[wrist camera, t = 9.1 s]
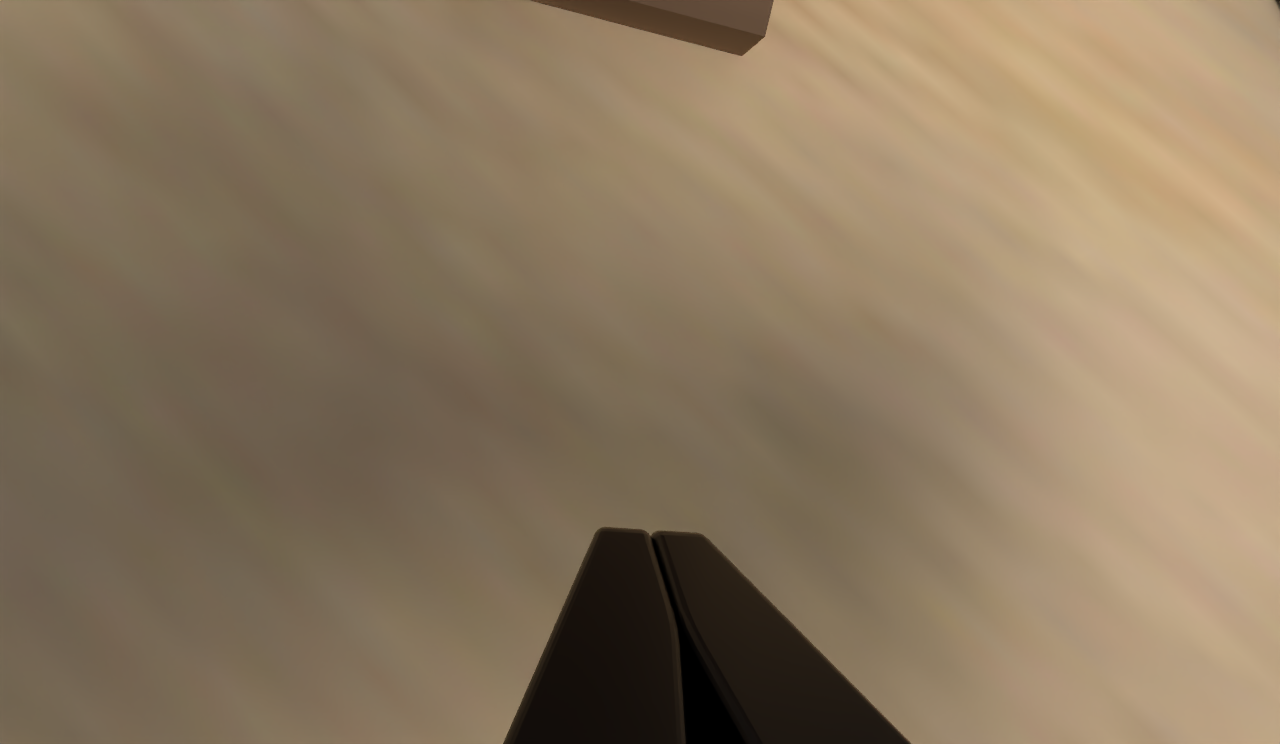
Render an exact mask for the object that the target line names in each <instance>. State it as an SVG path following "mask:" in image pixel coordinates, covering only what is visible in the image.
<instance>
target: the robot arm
mask: <svg viewBox="0 0 1280 744" xmlns="http://www.w3.org/2000/svg"><path fill="white" fill-rule="evenodd" d="M503 744H911V743H910V742H909V741H908V740H907V739H906V738H905V737H904V736H903V735H902V734H901V733H900V732H899V731H898V730H897V729H896V728H895V727H894V726H893V725H892V724H891V723H890V722H889V721H888V720H887V719H886V718H885V717H884V716H883V715H882V714H881V713H880V712H879V711H878V710H877V709H876V708H875V707H874V706H873V705H872V704H871V703H870V701H869V700H868V699H867V698H866V697H865V696H864V695H863V694H862V693H861V692H860V691H859V690H858V689H857V688H856V687H855V686H854V685H853V684H852V683H851V682H850V681H849V680H848V679H847V678H846V677H845V676H844V675H843V674H842V673H841V672H840V671H839V670H838V669H837V668H836V667H835V666H834V665H833V664H832V663H831V662H830V661H829V660H828V659H827V658H826V657H825V656H824V655H823V654H822V653H821V652H820V651H819V650H818V649H817V648H816V647H815V646H814V645H813V644H812V643H811V642H810V641H809V640H808V639H807V638H806V637H805V636H804V635H803V634H802V633H801V632H800V631H799V630H798V629H797V628H796V627H795V626H794V625H793V624H792V623H791V622H790V621H789V620H788V619H787V618H786V617H785V616H784V615H783V614H782V613H781V612H780V611H779V610H778V609H777V608H776V607H775V606H774V605H773V604H772V603H771V602H770V601H769V600H768V599H767V598H766V597H765V596H764V595H763V594H762V593H761V592H760V591H759V590H758V589H757V588H756V587H755V586H754V585H753V584H752V583H751V582H750V581H749V580H748V579H747V578H746V577H745V576H744V575H743V574H742V573H741V572H740V571H739V570H738V569H737V568H736V567H735V566H734V565H733V564H732V563H731V562H730V561H729V560H728V559H727V558H726V557H725V556H724V555H723V554H722V553H721V552H720V551H719V550H718V549H717V548H716V547H715V546H714V545H713V544H712V543H711V542H710V541H709V539H707V538H706V537H705V536H703V535H702V534H699V533H691V532H675V531H656V532H654V533H653V534H652V535H651V536H650V535H649V533H647V532H646V531H644V530H641V529H627V528H611V527H602V528H600V529H598V530H597V531H596V533H595V535H594V537H593V539H592V541H591V544H590V546H589V548H588V551H587V553H586V555H585V557H584V560H583V562H582V564H581V567H580V569H579V571H578V574H577V576H576V578H575V580H574V583H573V585H572V587H571V590H570V592H569V594H568V596H567V599H566V601H565V603H564V606H563V608H562V610H561V612H560V615H559V617H558V619H557V622H556V624H555V626H554V628H553V631H552V633H551V635H550V638H549V640H548V642H547V645H546V647H545V649H544V651H543V654H542V656H541V658H540V661H539V663H538V665H537V667H536V670H535V672H534V674H533V677H532V679H531V681H530V683H529V686H528V688H527V690H526V693H525V695H524V697H523V699H522V702H521V704H520V706H519V709H518V711H517V713H516V716H515V718H514V720H513V722H512V725H511V727H510V729H509V732H508V734H507V736H506V738H505V741H504V743H503Z"/></svg>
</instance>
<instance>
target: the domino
mask: <svg viewBox="0 0 1280 744" xmlns="http://www.w3.org/2000/svg"><path fill="white" fill-rule="evenodd" d="M532 1H535V2H539V3H543V4H547V5H551V6H554V7H558V8H562V9H566V10H570V11H573V12H577V13H581V14H585V15H589V16H592V17H596V18H600V19H604V20H608V21H611V22H615V23H619V24H623V25H627V26H630V27H634V28H638V29H642V30H645V31H649V32H653V33H657V34H661V35H664V36H668V37H672V38H676V39H680V40H683V41H687V42H691V43H695V44H699V45H702V46H706V47H710V48H714V49H718V50H721V51H725V52H729V53H733V54H737V55H740V56H743V55H744V54H745V53H746V52H747V51H748V50H750V49H751V48H752V47H753V46H754V45H755V44H757V43H758V42H759V41H760V40H761V39H763V38H764V37H765V34H766V30H767V25H768V21H769V17H770V13H771V9H772V5H773V0H532Z"/></svg>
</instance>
